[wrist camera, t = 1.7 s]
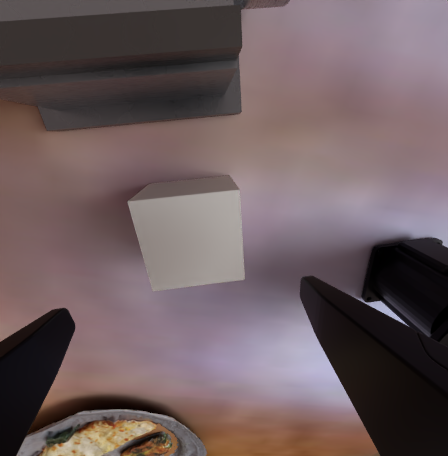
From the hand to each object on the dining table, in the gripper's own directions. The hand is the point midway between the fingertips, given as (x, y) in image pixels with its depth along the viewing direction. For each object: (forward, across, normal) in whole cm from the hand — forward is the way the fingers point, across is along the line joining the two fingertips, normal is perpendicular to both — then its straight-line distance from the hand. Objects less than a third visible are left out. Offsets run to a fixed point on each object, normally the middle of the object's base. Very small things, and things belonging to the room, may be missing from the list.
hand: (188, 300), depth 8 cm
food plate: (+10, +16, +33) cm, 38 cm away
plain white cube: (+10, 0, 0) cm, 10 cm away
